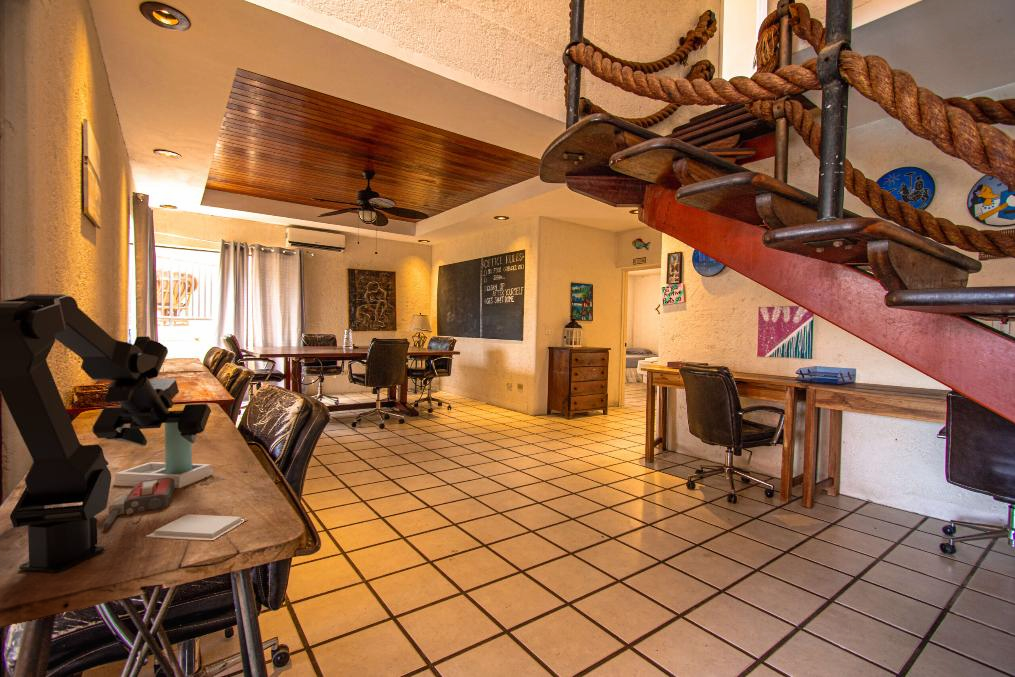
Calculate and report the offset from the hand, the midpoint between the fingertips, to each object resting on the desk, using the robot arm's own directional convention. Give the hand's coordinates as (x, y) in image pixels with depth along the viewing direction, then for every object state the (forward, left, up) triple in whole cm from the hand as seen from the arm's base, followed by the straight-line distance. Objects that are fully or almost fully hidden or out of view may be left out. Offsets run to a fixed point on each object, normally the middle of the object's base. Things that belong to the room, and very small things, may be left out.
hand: (170, 442), depth 95 cm
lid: (-18, -23, -10) cm, 31 cm away
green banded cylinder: (+3, +1, -8) cm, 9 cm away
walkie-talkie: (-11, -5, -10) cm, 16 cm away
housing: (+3, +5, -9) cm, 11 cm away
